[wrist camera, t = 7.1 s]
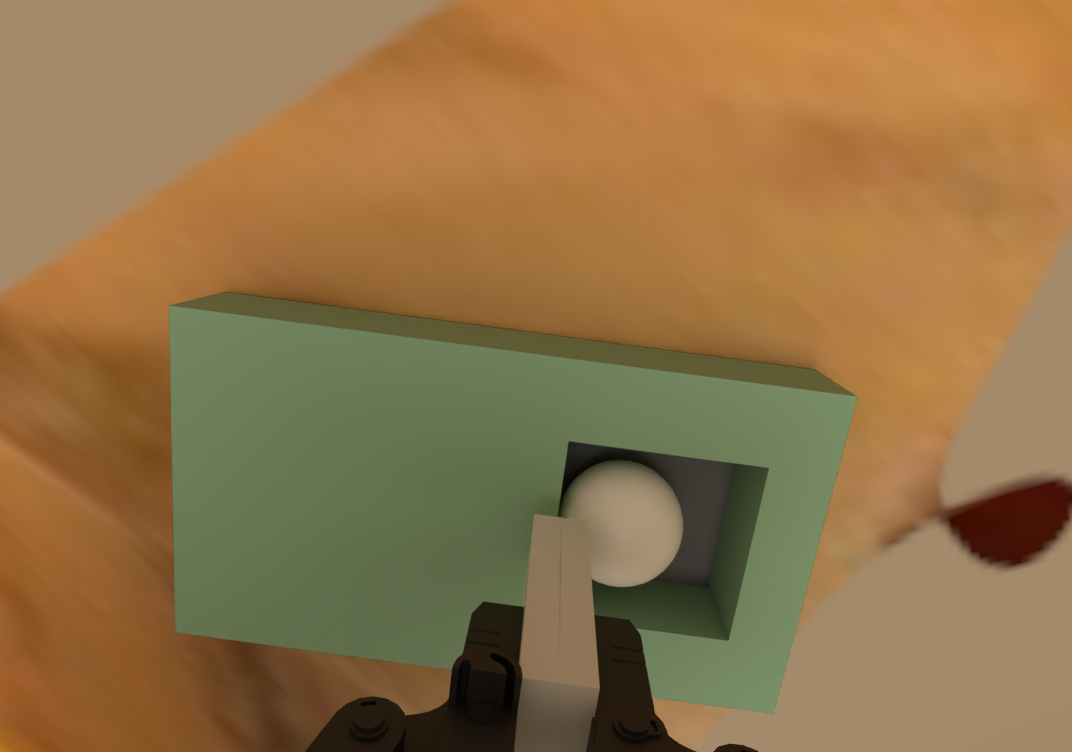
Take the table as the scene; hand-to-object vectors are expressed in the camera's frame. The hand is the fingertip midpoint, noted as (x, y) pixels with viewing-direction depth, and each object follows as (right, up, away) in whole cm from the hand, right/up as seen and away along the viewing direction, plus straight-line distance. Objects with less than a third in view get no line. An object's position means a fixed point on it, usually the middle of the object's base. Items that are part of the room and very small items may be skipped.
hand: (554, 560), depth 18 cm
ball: (+2, +1, +3) cm, 3 cm away
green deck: (-2, +2, +5) cm, 5 cm away
